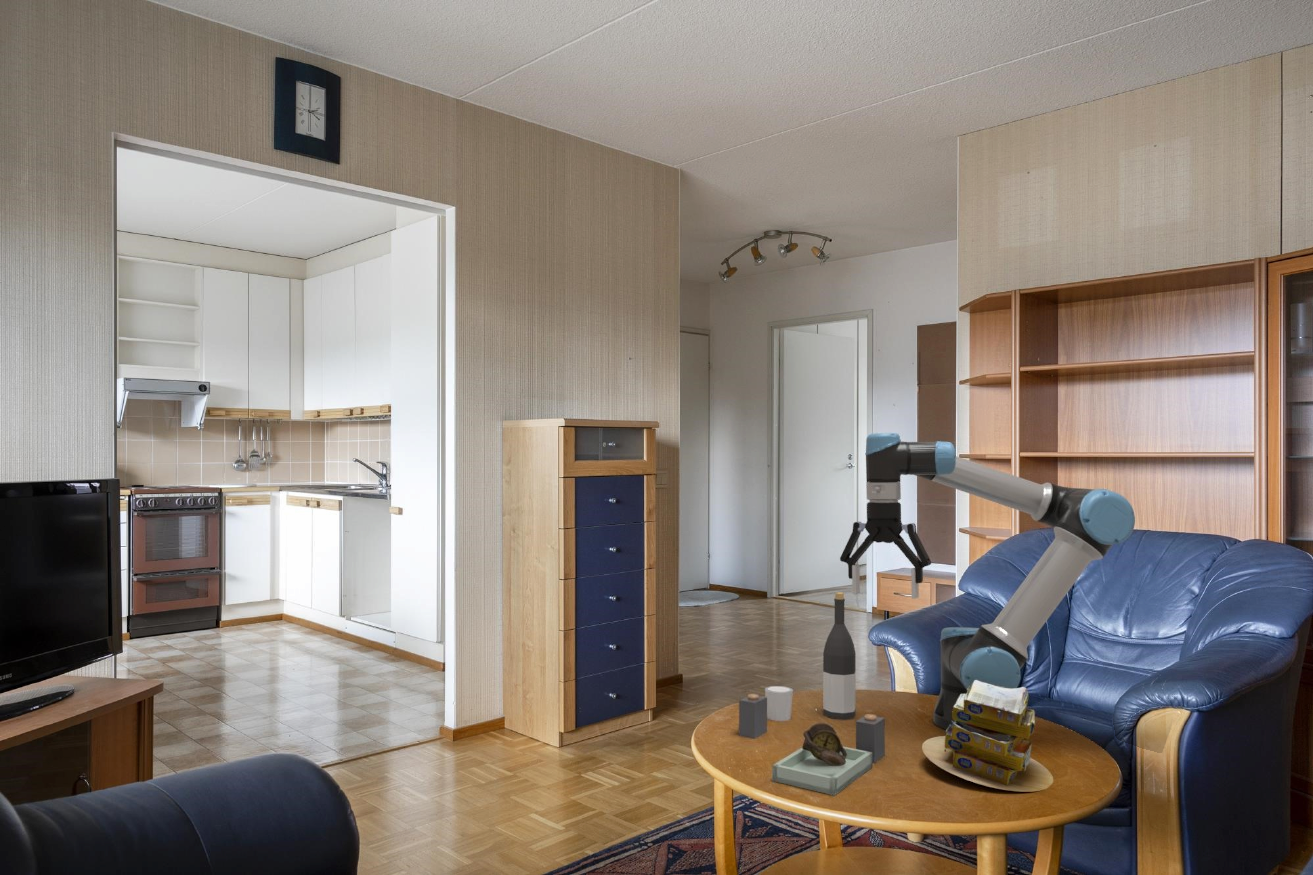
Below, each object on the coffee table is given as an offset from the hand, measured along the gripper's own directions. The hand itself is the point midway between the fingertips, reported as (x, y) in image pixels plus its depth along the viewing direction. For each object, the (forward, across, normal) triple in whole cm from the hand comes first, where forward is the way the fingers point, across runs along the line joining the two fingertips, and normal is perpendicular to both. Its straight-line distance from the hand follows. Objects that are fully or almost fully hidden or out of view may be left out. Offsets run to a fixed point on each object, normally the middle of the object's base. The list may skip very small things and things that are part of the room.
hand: (885, 595), depth 198 cm
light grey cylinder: (+32, -28, +2) cm, 42 cm away
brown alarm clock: (+30, -4, -29) cm, 41 cm away
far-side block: (+32, -27, -13) cm, 44 cm away
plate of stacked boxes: (+33, +23, -8) cm, 41 cm away
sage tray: (+32, -4, -28) cm, 43 cm away
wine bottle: (+32, -16, +13) cm, 38 cm away
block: (+32, +1, -14) cm, 35 cm away
